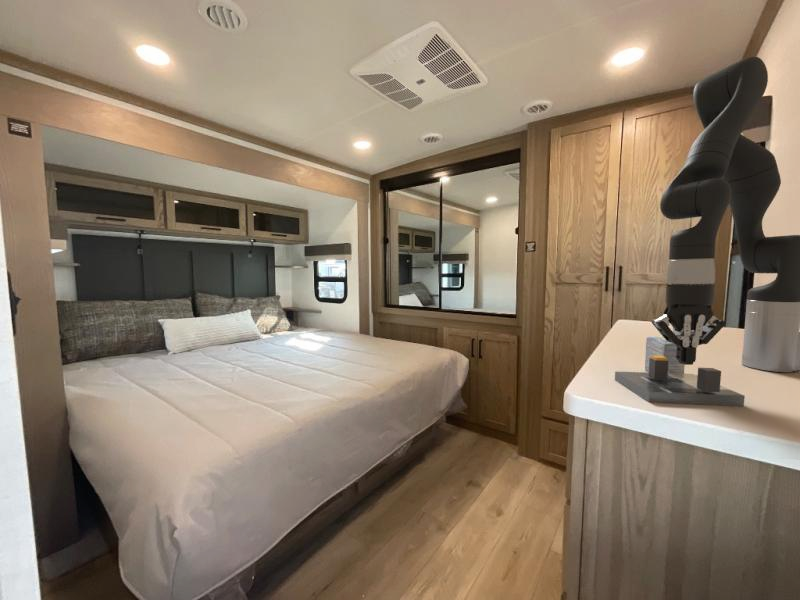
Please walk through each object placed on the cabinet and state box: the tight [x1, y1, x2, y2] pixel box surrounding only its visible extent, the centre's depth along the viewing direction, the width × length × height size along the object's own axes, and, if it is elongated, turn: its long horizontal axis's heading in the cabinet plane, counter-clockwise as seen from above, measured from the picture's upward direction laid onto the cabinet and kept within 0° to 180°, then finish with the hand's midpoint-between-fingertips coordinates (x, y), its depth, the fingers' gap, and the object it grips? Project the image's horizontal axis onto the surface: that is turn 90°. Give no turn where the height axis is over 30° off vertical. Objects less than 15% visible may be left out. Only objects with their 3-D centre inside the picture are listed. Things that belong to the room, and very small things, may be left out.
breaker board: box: [614, 370, 746, 407], centre depth 68 cm, size 16×13×2 cm
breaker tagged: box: [648, 356, 669, 380], centre depth 70 cm, size 2×2×5 cm
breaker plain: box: [697, 367, 722, 392], centre depth 63 cm, size 2×2×4 cm
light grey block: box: [644, 336, 686, 374], centre depth 79 cm, size 8×4×9 cm, turn 168°
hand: (685, 363), depth 70 cm, fingers closed
